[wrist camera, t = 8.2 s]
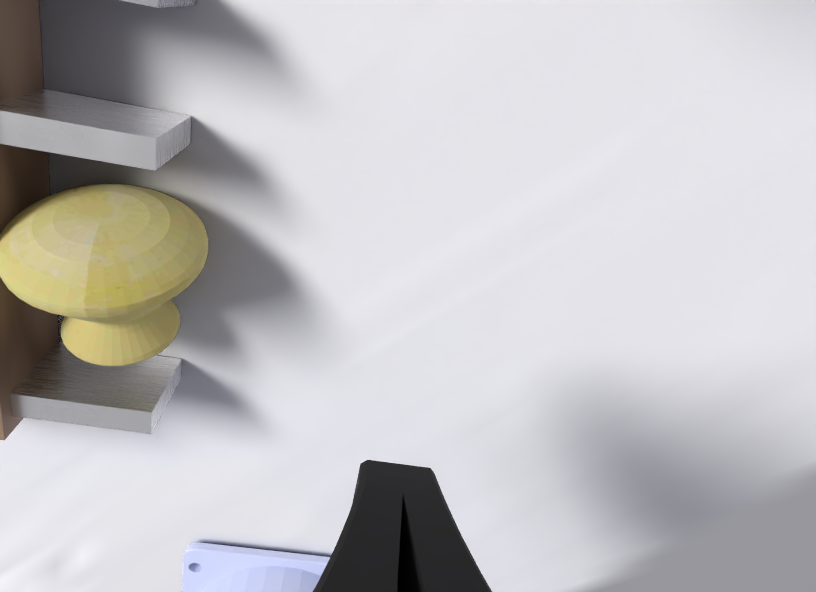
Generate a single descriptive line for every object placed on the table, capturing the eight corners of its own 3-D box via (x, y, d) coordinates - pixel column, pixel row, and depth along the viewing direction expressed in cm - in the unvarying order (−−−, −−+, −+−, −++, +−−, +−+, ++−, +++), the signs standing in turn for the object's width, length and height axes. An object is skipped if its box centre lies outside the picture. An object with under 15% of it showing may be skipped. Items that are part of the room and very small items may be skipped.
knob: (49, 160, 18) (-62, 216, 14) (228, 190, 19) (178, 253, 14) (59, 302, 20) (-35, 391, 16) (220, 325, 21) (174, 418, 16)
